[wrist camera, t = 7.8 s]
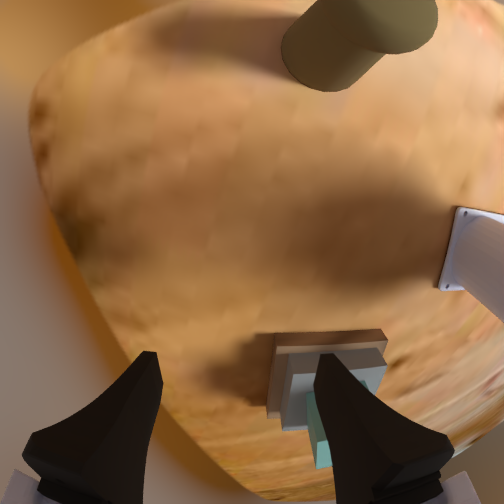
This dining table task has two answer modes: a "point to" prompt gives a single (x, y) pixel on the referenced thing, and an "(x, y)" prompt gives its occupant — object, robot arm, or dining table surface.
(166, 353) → the dining table surface
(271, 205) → the dining table surface
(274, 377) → the walnut block
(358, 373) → the grey block
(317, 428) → the teal cube
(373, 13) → the olive upright rounded piece
